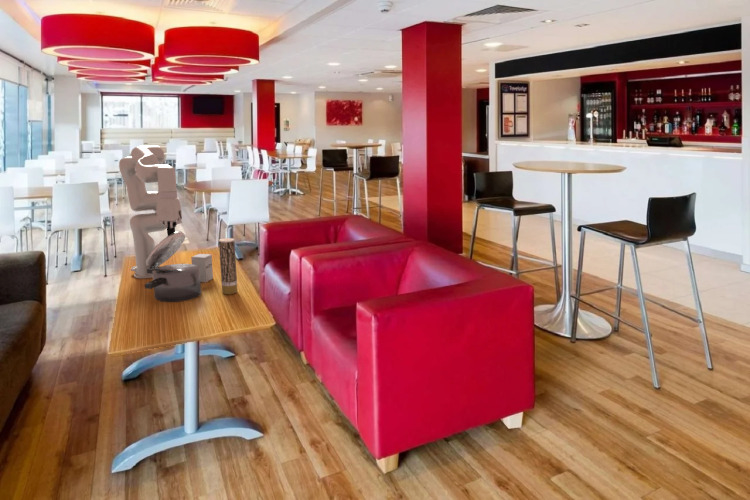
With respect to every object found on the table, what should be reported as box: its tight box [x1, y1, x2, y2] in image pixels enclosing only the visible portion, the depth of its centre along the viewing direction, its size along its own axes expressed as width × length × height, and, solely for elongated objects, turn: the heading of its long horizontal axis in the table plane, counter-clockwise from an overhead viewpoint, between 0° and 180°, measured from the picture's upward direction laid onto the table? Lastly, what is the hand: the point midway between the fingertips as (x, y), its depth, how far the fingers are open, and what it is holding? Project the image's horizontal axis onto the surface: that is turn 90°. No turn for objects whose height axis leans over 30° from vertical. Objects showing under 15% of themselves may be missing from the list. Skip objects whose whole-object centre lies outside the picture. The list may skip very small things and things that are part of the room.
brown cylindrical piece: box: [218, 237, 238, 295], centre depth 250 cm, size 7×7×25 cm
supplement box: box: [191, 253, 214, 283], centre depth 271 cm, size 7×7×13 cm
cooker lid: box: [146, 230, 186, 268], centre depth 246 cm, size 21×21×4 cm
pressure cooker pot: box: [144, 263, 202, 303], centre depth 244 cm, size 23×30×12 cm
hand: (171, 236), depth 243 cm, fingers closed
